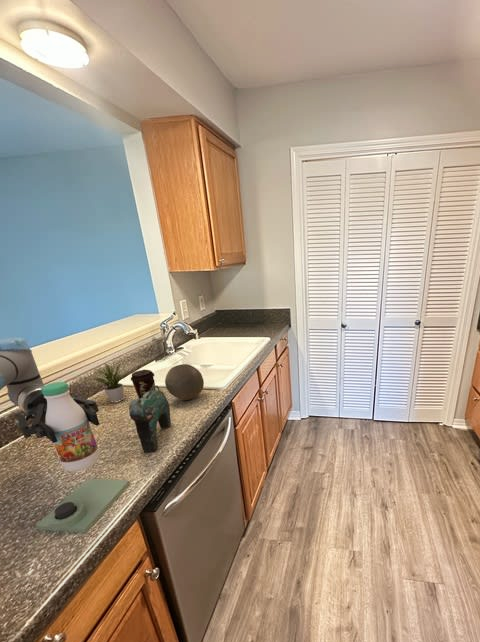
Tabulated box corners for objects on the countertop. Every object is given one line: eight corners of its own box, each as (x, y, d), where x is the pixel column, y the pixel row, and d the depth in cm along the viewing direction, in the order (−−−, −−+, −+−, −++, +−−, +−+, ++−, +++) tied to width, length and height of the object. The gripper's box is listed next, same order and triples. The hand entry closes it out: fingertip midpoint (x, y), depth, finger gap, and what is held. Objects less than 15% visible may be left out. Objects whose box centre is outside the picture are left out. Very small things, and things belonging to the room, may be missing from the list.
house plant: (119, 390, 145) (109, 356, 139) (144, 393, 141) (134, 357, 135) (91, 404, 133) (79, 367, 127) (117, 407, 129) (106, 369, 122)
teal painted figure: (156, 455, 97) (141, 394, 89) (134, 456, 96) (117, 395, 89) (176, 422, 115) (165, 369, 107) (158, 423, 115) (145, 371, 107)
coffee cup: (156, 395, 138) (149, 367, 133) (163, 401, 132) (156, 371, 127) (135, 402, 133) (127, 372, 128) (140, 408, 127) (132, 377, 122)
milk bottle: (55, 470, 74) (22, 390, 67) (84, 451, 81) (57, 377, 74) (80, 475, 72) (49, 393, 65) (108, 455, 79) (83, 379, 71)
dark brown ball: (178, 393, 140) (171, 360, 134) (210, 392, 139) (204, 359, 133) (164, 408, 127) (156, 372, 121) (199, 407, 126) (193, 371, 120)
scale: (83, 535, 70) (79, 525, 68) (34, 532, 71) (29, 522, 70) (130, 483, 85) (127, 474, 84) (88, 482, 86) (85, 472, 85)
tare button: (67, 520, 70) (65, 514, 70) (53, 519, 71) (50, 513, 70) (80, 508, 74) (77, 502, 73) (65, 507, 74) (63, 501, 74)
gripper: (88, 401, 92) (127, 423, 79) (-5, 433, 77) (24, 466, 64) (80, 377, 89) (119, 395, 76) (-18, 405, 74) (9, 434, 61)
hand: (75, 427), depth 70 cm, fingers closed on milk bottle, 8 cm apart
